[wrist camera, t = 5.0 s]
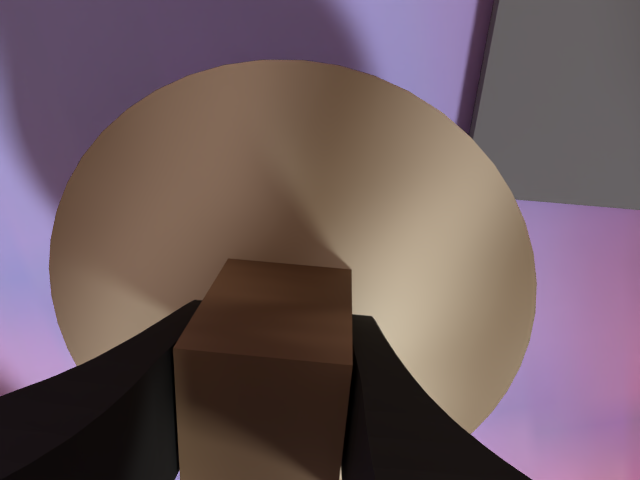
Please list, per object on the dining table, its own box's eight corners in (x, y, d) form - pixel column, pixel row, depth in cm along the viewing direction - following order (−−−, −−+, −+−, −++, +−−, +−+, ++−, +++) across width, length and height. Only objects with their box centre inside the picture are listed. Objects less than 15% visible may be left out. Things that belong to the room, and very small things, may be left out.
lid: (584, 81, 11) (753, 97, 6) (474, 491, 15) (526, 668, 11) (33, 39, 11) (-183, 24, 7) (92, 452, 16) (-10, 607, 11)
